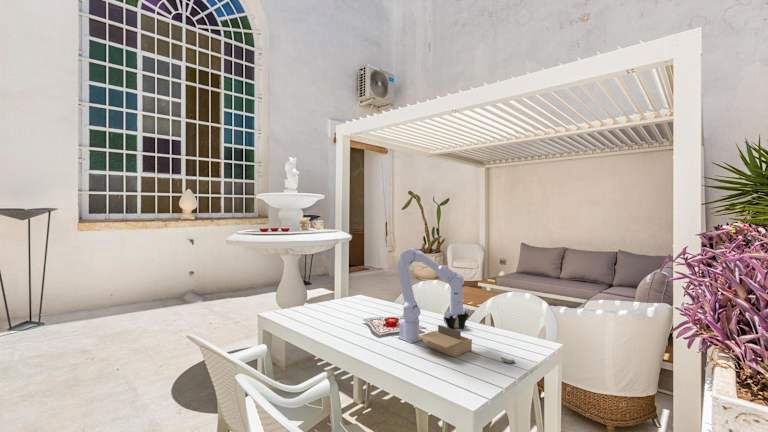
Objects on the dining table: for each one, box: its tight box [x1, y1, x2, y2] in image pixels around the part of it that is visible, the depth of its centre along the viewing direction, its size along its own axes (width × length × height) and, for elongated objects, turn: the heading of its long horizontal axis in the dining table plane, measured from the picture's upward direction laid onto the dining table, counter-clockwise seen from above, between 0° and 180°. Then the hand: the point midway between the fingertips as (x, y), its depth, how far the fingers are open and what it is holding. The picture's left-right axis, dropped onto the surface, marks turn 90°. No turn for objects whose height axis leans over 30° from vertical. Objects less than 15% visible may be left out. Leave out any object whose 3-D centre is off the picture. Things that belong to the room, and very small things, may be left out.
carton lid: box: [417, 324, 465, 348], centre depth 159 cm, size 17×13×4 cm
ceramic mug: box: [443, 311, 459, 329], centre depth 195 cm, size 11×8×8 cm
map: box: [500, 356, 515, 364], centre depth 156 cm, size 5×20×1 cm, turn 169°
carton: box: [426, 335, 473, 358], centre depth 162 cm, size 16×12×5 cm
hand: (456, 330), depth 166 cm, fingers open, 7 cm apart
